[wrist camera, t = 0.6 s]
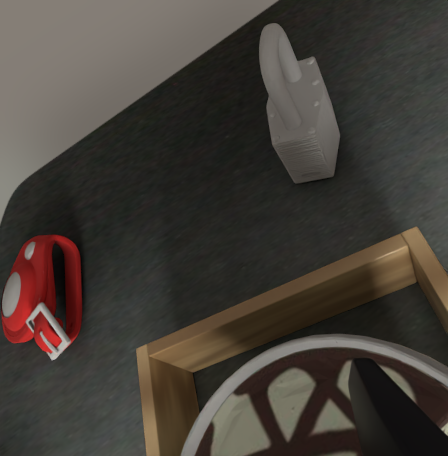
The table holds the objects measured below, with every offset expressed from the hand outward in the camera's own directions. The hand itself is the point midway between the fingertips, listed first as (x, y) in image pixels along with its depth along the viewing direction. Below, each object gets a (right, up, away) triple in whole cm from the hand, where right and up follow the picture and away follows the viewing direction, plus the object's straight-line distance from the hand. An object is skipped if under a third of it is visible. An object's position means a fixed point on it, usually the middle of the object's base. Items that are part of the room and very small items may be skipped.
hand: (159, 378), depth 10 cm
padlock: (+8, +10, +22) cm, 25 cm away
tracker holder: (-13, -4, +27) cm, 30 cm away
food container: (+8, -8, +12) cm, 16 cm away
